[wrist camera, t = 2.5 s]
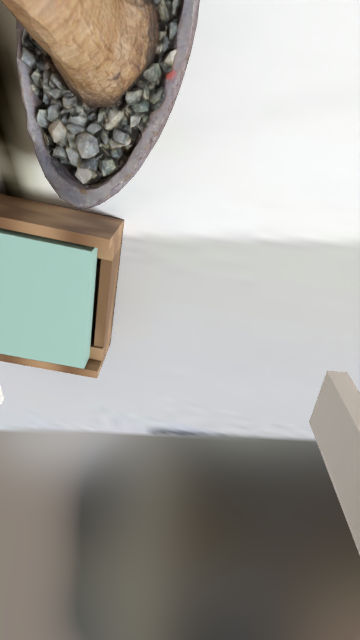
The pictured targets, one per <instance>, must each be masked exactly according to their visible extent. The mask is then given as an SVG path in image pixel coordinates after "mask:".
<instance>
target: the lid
mask: <svg viewBox="0 0 360 640" xmlns="http://www.w3.org/2000/svg"><path fill="white" fill-rule="evenodd" d="M97 251H98V248H96V247H91V246H86V245H81V244H76V243H71V242H66V241H61V240H57V239H52V238H47V237H42V236H37V235H32V234H27V233H22V232H18V231H13V230H8V229H3V228H0V354H5V355H10V356H16V357H21V358H27V359H32V360H38V361H43V362H49V363H54V364H60V365H66V366H71V367H77V368H82V369H84V368H85V366H86V363H87V361H88V359H89V357H90V344H91V331H92V318H93V304H94V291H95V278H96V265H97Z"/></svg>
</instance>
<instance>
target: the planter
mask: <svg viewBox="0 0 360 640" xmlns="http://www.w3.org/2000/svg"><path fill="white" fill-rule="evenodd" d="M1 1H2V2H3V3H4V4H5V5H6V7H7V8H8V9H9V10H10V11H11V13H12V14H13V15H14V16H15V17H16V19H17V66H18V74H19V82H20V90H21V99H22V101H23V104H24V106H25V111H26V116H27V130H28V132H29V135H30V137H31V140H32V142H33V145H34V149H35V152H36V155H37V158H38V161H39V164H40V166H41V168H42V170H43V172H44V175H45V177H46V178H47V180H48V181H49V183H50V184H51V186H52V187H53V189H54V190H55V191H56V193H57V194H58V195H59V197H60V198H61V199H63V200H65V201H66V202H68V203H70V204H71V205H73V206H74V207H76V208H79V209H82V208H91V207H94V206H97V205H99V204H101V203H103V202H105V201H106V200H108V199H109V198H111V197H112V196H114V195H115V194H116V193H118V192H119V191H120V190H121V189H122V188H123V187H124V186H125V185H126V184H127V183H128V182H129V181H130V180H131V179H132V178H133V177H134V175H135V174H136V173H137V171H138V170H139V169H140V167H141V166H142V164H143V163H144V161H145V159H146V158H147V156H148V154H149V153H150V151H151V150H152V148H153V147H154V145H155V143H156V142H157V140H158V138H159V136H160V134H161V132H162V130H163V128H164V126H165V124H166V122H167V120H168V117H169V115H170V113H171V111H172V108H173V106H174V103H175V100H176V98H177V95H178V92H179V89H180V86H181V83H182V80H183V77H184V74H185V71H186V67H187V64H188V60H189V56H190V53H191V49H192V44H193V40H194V35H195V30H196V26H197V19H198V10H199V2H200V0H1Z"/></svg>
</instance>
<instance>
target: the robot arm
mask: <svg viewBox="0 0 360 640" xmlns="http://www.w3.org/2000/svg"><path fill="white" fill-rule="evenodd" d="M3 400H4V398H3V394H2V391H1V387H0V404H1V403H2V402H3ZM309 423H310V425H311V428H312V430H313V433H314V436H315V438H316V441H317V444H318V446H319V449H320V452H321V454H322V457H323V459H324V462H325V465H326V467H327V470H328V473H329V475H330V478H331V480H332V483H333V486H334V488H335V491H336V494H337V496H338V499H339V502H340V504H341V507H342V509H343V512H344V515H345V517H346V520H347V522H348V525H349V528H350V531H351V533H352V536H353V539H354V541H355V544H356V547H357V549H358V552H359V554H360V393H359V391H358V390H357V388H356V386H355V385H354V383H353V381H352V380H351V378H350V376H349V375H348V373H347V372H334V371H327V373H326V376H325V378H324V381H323V384H322V387H321V390H320V393H319V396H318V398H317V401H316V404H315V407H314V410H313V413H312V415H311V418H310V421H309Z"/></svg>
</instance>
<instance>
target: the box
mask: <svg viewBox="0 0 360 640" xmlns="http://www.w3.org/2000/svg"><path fill="white" fill-rule="evenodd" d="M123 227H124V220H122V219H117V218H112V217H108V216H103V215H98V214H93V213H89V212H84V211H79V210H74V209H70V208H65V207H60V206H56V205H51V204H46V203H41V202H37V201H32V200H27V199H22V198H18V197H13V196H8V195H3V194H0V228H3V229H8V230H13V231H18V232H22V233H27V234H32V235H37V236H42V237H47V238H52V239H57V240H61V241H66V242H71V243H76V244H81V245H86V246H91V247H96V248H98V251H97V265H96V278H95V291H94V304H93V318H92V331H91V344H90V357H89V359H88V361H87V363H86V366H85V368H84V369H82V368H77V367H71V366H66V365H60V364H54V363H49V362H43V361H38V360H32V359H27V358H21V357H16V356H10V355H5V354H0V361H4V362H9V363H15V364H20V365H26V366H32V367H37V368H43V369H48V370H54V371H59V372H65V373H71V374H76V375H82V376H87V377H93V378H97V377H98V374H99V372H100V369H101V366H102V364H103V361H104V359H105V356H106V353H107V351H108V348H109V346H110V342H111V333H112V324H113V315H114V306H115V297H116V289H117V280H118V271H119V262H120V253H121V244H122V235H123Z"/></svg>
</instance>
